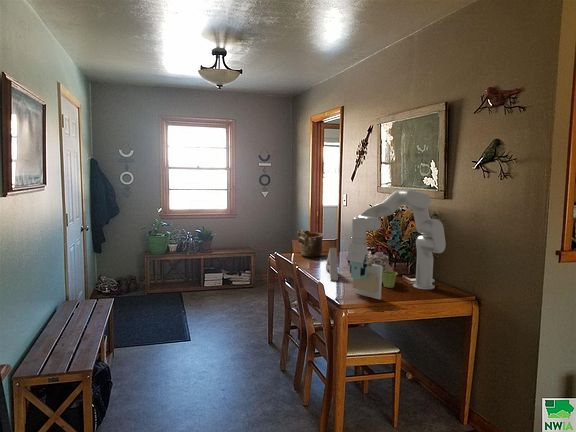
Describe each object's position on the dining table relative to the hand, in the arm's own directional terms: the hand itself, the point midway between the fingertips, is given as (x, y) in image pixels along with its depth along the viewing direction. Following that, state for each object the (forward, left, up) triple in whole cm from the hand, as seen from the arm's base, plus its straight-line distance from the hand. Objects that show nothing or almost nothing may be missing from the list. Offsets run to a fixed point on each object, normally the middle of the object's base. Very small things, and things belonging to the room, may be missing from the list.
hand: (357, 273), depth 233 cm
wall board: (-9, 0, -14) cm, 16 cm away
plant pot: (-38, -4, -14) cm, 40 cm away
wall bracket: (-35, -46, -14) cm, 59 cm away
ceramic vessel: (-73, -99, -14) cm, 124 cm away
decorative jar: (-46, -17, -14) cm, 51 cm away
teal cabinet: (-3, 0, -2) cm, 4 cm away
